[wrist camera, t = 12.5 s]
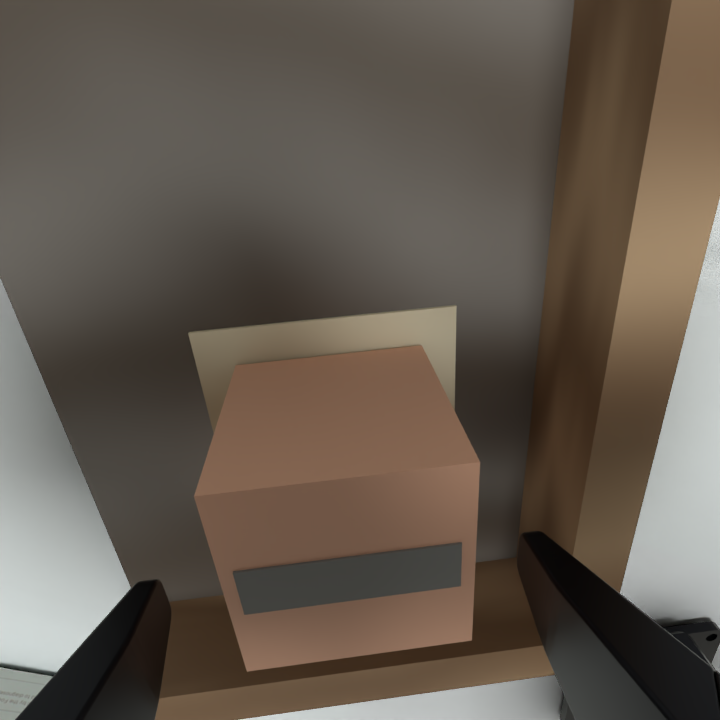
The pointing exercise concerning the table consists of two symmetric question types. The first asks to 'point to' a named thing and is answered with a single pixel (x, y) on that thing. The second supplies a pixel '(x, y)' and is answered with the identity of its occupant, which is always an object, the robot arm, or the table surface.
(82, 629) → the table surface
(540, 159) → the arena
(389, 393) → the terracotta block
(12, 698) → the supplement box
